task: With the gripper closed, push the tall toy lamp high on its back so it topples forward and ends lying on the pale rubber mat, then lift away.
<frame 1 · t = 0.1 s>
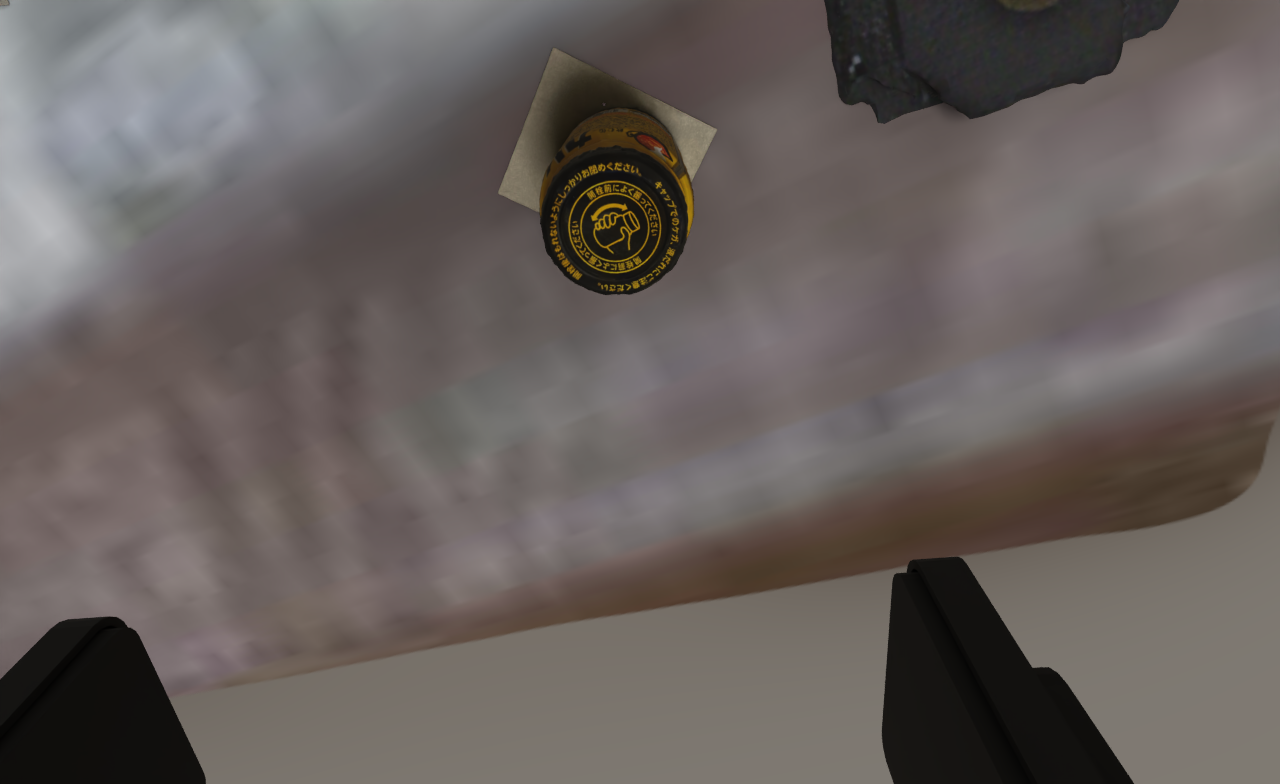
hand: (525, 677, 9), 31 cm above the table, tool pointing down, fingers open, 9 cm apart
condiment: (605, 160, 37), on the table
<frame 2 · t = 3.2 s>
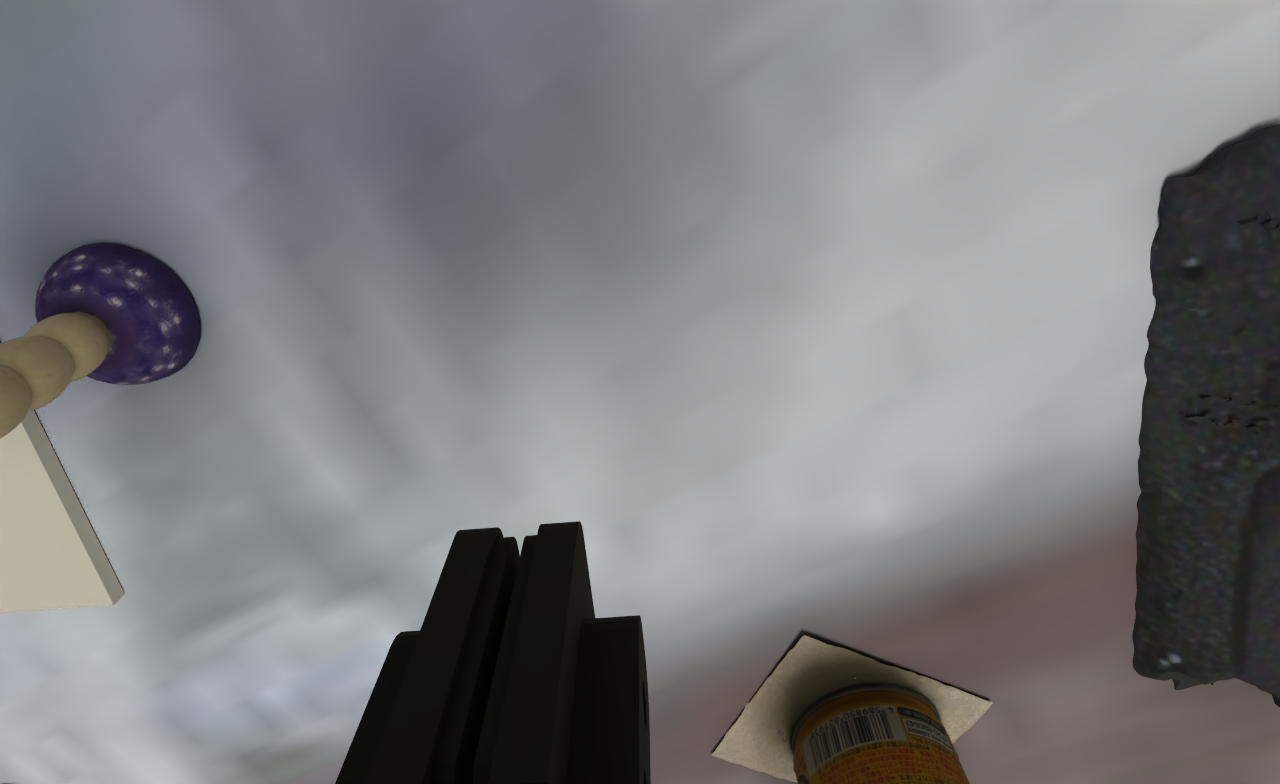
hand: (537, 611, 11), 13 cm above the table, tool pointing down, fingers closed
condiment: (846, 721, 30), on the table
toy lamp: (130, 320, 23), on the table
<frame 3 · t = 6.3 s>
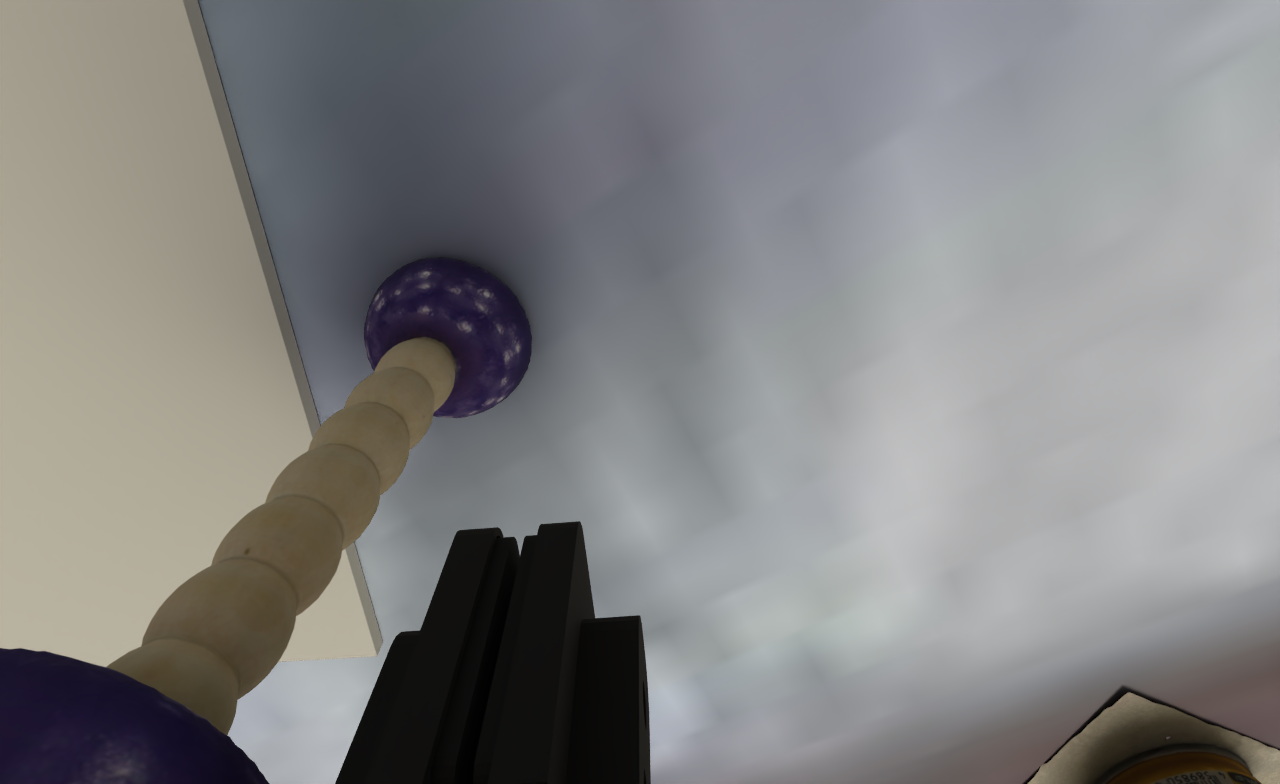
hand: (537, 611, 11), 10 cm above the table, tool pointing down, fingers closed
condiment: (1142, 783, 28), on the table
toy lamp: (450, 343, 20), on the table, touching gripper
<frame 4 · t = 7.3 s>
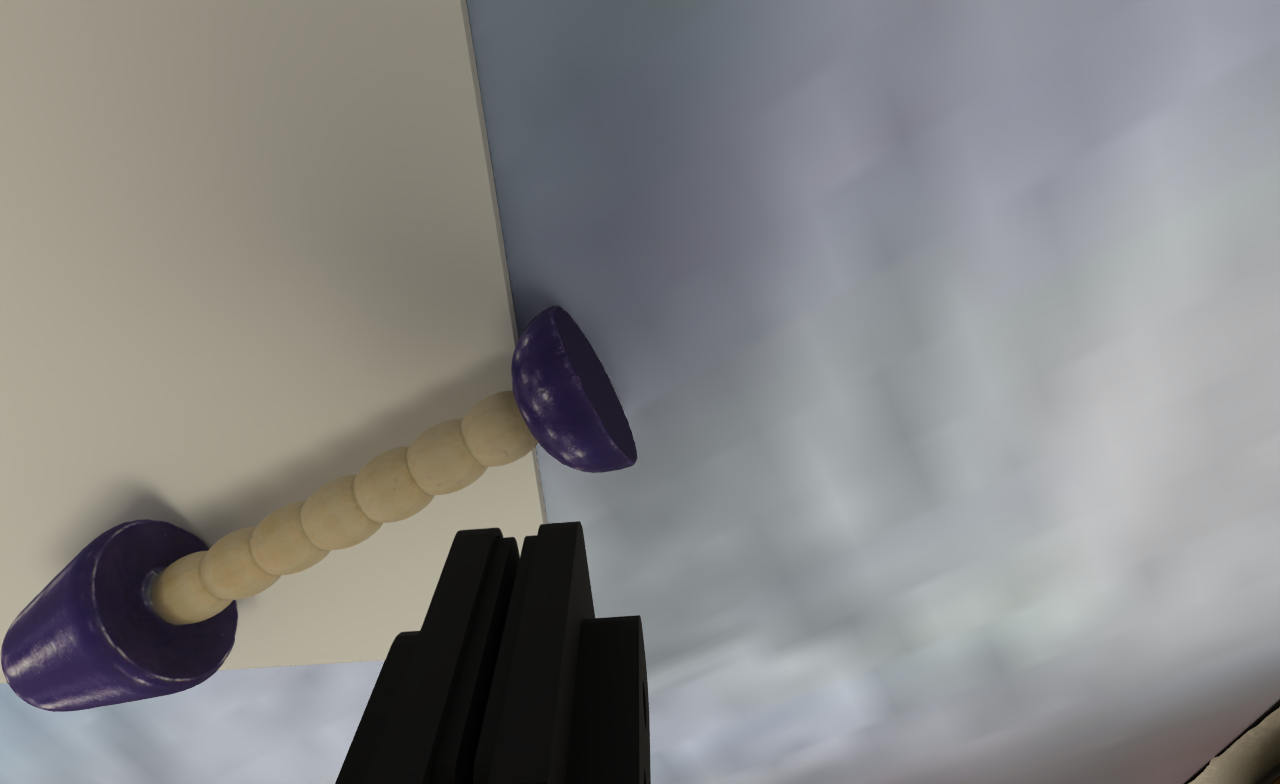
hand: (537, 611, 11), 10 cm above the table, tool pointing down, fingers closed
mat: (110, 373, 20), on the table
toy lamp: (610, 383, 18), point 2 cm above the table, touching mat
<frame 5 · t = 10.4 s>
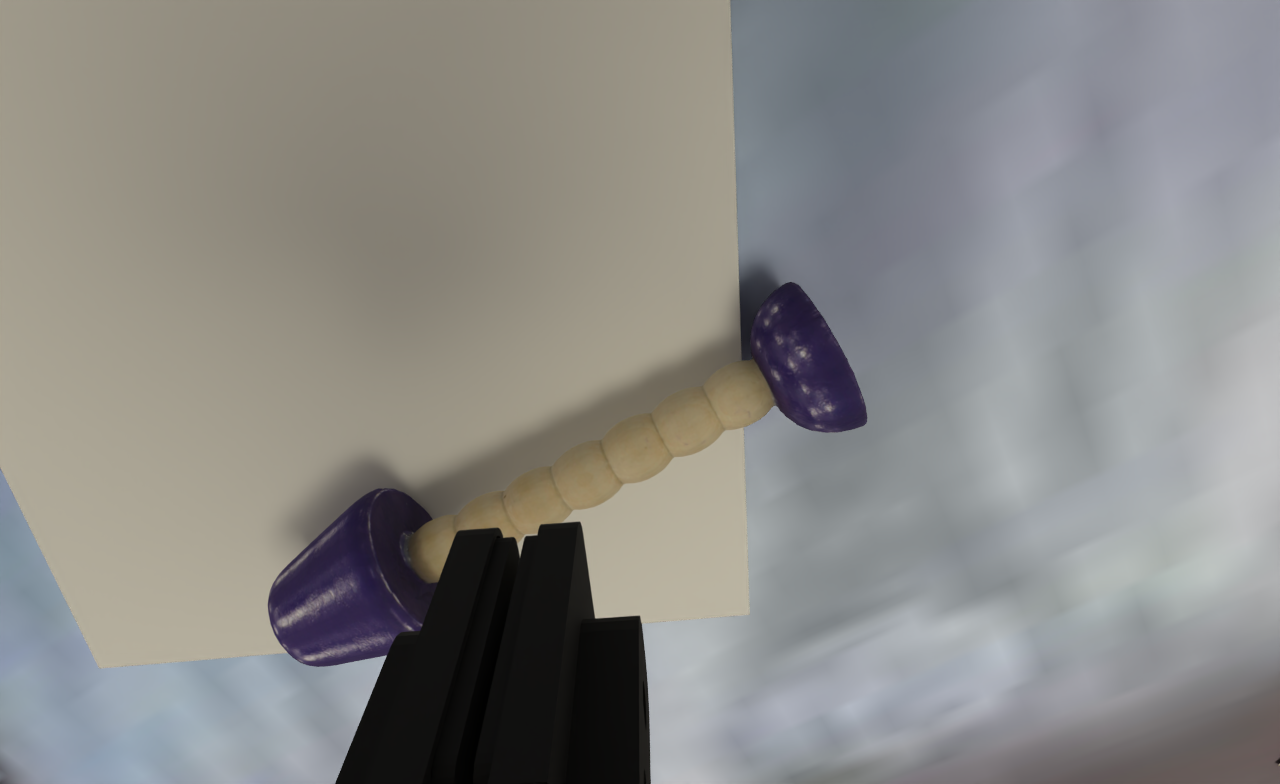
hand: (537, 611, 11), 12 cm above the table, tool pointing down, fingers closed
mat: (358, 358, 22), on the table
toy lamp: (836, 353, 20), point 2 cm above the table, touching mat
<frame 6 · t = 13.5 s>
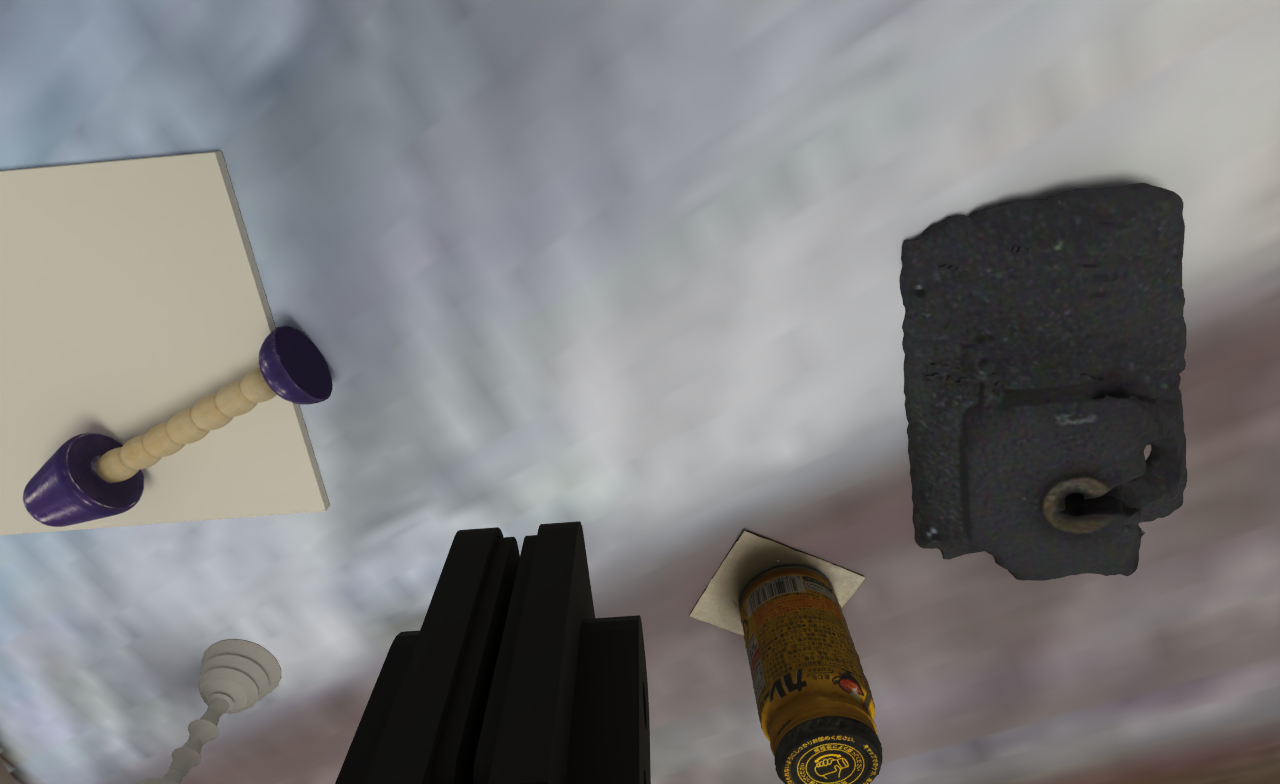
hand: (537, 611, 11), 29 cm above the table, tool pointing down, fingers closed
mat: (79, 363, 40), on the table
condiment: (775, 592, 47), on the table
chalice: (243, 666, 50), on the table
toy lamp: (313, 363, 38), point 2 cm above the table, touching mat
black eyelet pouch: (1037, 384, 42), on the table
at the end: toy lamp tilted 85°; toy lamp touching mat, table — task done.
